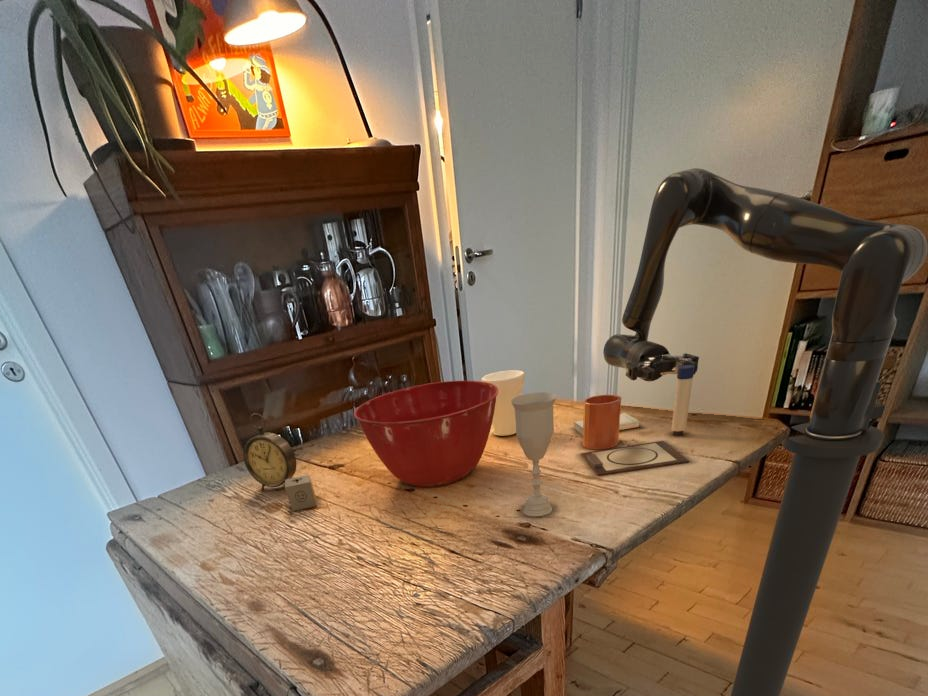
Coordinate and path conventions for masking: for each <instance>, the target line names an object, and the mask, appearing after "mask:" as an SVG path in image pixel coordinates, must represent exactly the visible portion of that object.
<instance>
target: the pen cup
mask: <svg viewBox="0 0 928 696" xmlns="http://www.w3.org/2000/svg"><path fill="white" fill-rule="evenodd" d="M582 405H583V406H582V421H583V435H582V447H584V449H589V450H606V449H612V448H614V447H616V446H618V445H619V443H620V431H621V430H620V414H621V412H622V410H621V409H622V397H621V395H618V394H597V395H592V396H590V397H587V398H585V399H584V400H583V404H582Z"/></svg>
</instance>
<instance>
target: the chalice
mask: <svg viewBox="0 0 928 696" xmlns="http://www.w3.org/2000/svg"><path fill="white" fill-rule="evenodd" d="M556 398H557V395H556V394H555V393H552V392H530V393H524V394H522V395H521V396H517V397H515V398H513V399H512V400H511V403H512V404H513V406H514V408H515V421H516V433H515V434H516V437H517V440H518V443H519V445H520V447H521V450H522V452H523V453H524V455H525V457H526V459H527V460H529V461H531V462H532V470H531V474H532V476H533V480H532V482H531V483H530V484H531V485H532V487H533V493H532V495H530V496H528V498H527V499H526V500H525V504H524V507H523V509H522V513H523V515H525V516H528V517H542V516H547V515H549V514H550V513H551V512H552V511H553V507H552V506H551V503H550V501H549V498H548V497H547V496H546V495H545V494H543V493H541V490H540V488H541V484H542V483H543V482H542V480H541V479H540V474H541V472H542V471H541V469H540V461H541V460H543V458H544V457H545V456H546V453H547V450H548V449H549V446H550V444H551V441H552V437H553V433H554V404H555V402H556Z"/></svg>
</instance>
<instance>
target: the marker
mask: <svg viewBox="0 0 928 696" xmlns="http://www.w3.org/2000/svg"><path fill="white" fill-rule="evenodd" d="M694 368H695V366H694V365H683V366H679V367H678V373H677V374H676V388H675V397H674V405H673V413H672V423H671V431H672V435H673V436H675V437H676V436H677V437H678V436H679V437H680V436H683V435H684V432H685V431H686V429H687V425H688V424H687V423H688V416H689V410H690V409H689V408H690V400H691V393H692V385H693V378H694V375H695V374H694Z"/></svg>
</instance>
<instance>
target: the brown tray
mask: <svg viewBox="0 0 928 696" xmlns="http://www.w3.org/2000/svg"><path fill="white" fill-rule="evenodd" d="M580 456H581V457H582V458H583V460H584V461H585V462H586V463H587V464H588V466H589V467H590V468H591V469H592V470H593V472H594V473H595V474H596V475H597V476H598V477H599V476H605V475H612V474H619V473H626V472H631V471H632V472H633V471H639V470H645V469H653V468H658V467H659V468H660V467H664V466H665V467H667V466H673V465H677V464H678V465H679V464H686V463H689V462H690V460H689V459H688V458H687V457H685V456H684V455H683V454H681V453H680V452H679V451H677V450H676V449H674V448H673V447H671V445H669V444H668V443H667V442H665V441H664V440H660V441H658V440H657V441H653V442H647V443H641V444H632V445H626V446H621V447H615V448H614V447H612V448H607V449H599V450H594V451H587V452H581V453H580Z"/></svg>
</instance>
